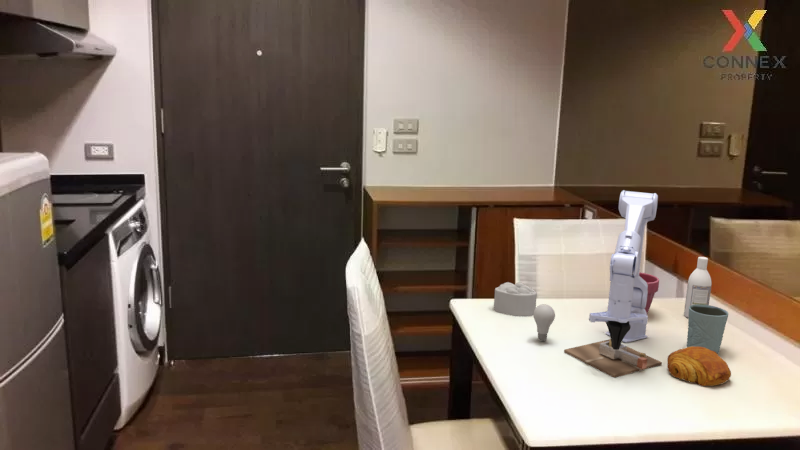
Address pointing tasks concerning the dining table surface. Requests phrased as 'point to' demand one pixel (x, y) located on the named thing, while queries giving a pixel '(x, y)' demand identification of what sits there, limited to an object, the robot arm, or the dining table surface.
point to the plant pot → (650, 288)
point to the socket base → (608, 359)
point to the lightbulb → (543, 320)
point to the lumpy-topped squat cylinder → (515, 299)
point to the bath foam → (698, 286)
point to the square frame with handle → (622, 355)
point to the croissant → (698, 366)
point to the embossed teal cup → (706, 326)
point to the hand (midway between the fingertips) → (615, 348)
